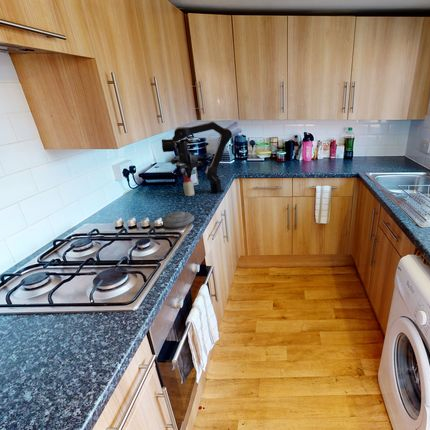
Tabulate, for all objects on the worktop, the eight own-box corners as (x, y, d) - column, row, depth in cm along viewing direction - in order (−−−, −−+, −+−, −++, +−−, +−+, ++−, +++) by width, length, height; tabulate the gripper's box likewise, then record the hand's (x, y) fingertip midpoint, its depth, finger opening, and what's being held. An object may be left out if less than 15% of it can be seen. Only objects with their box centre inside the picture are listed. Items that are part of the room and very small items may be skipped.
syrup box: (191, 186, 186) (188, 164, 181) (186, 184, 190) (182, 163, 184) (199, 184, 191) (195, 162, 185) (193, 182, 194) (190, 161, 188)
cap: (192, 180, 169) (191, 175, 168) (186, 182, 167) (185, 176, 165) (188, 179, 171) (187, 174, 170) (183, 181, 169) (182, 175, 167)
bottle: (196, 194, 173) (193, 175, 168) (188, 196, 169) (185, 178, 164) (190, 192, 176) (188, 174, 171) (182, 194, 172) (179, 176, 167)
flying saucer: (156, 230, 128) (154, 219, 126) (167, 217, 142) (165, 207, 140) (191, 229, 129) (189, 218, 127) (197, 215, 143) (196, 205, 141)
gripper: (204, 150, 163) (208, 176, 169) (185, 146, 173) (189, 171, 179) (188, 153, 154) (192, 181, 161) (168, 149, 165) (173, 176, 171)
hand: (187, 177), depth 168 cm, fingers open, 5 cm apart
